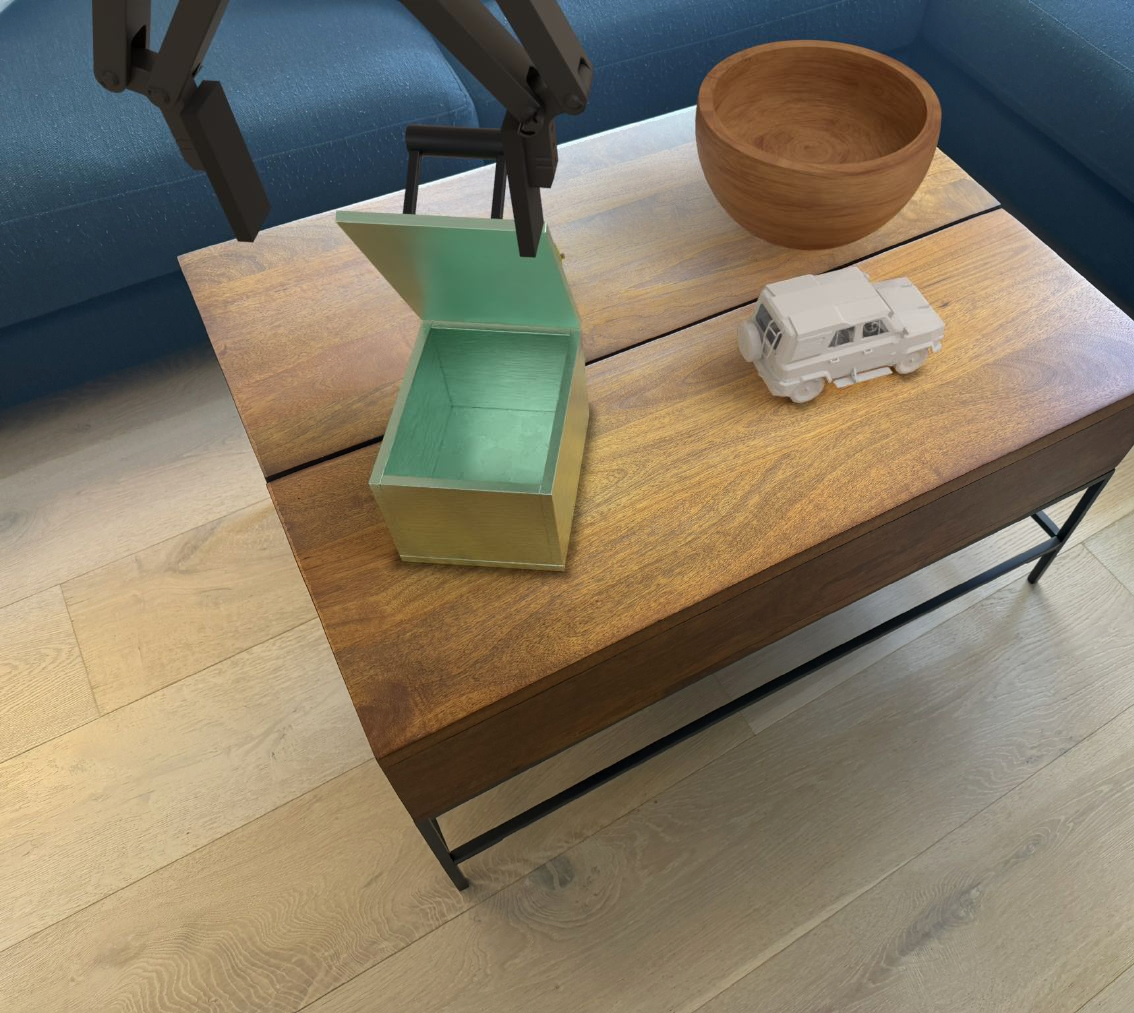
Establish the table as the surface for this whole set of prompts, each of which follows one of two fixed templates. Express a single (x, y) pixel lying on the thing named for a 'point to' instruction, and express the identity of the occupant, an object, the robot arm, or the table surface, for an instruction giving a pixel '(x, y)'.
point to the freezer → (485, 446)
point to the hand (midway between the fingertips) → (393, 232)
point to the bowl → (814, 140)
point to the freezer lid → (463, 247)
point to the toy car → (837, 331)
